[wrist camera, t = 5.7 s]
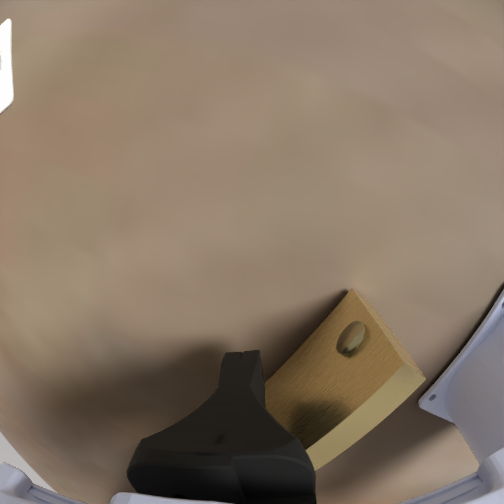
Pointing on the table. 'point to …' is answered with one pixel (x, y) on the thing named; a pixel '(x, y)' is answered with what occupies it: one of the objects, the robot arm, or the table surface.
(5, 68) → the cell phone
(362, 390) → the brass leaf
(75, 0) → the table surface
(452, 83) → the table surface
